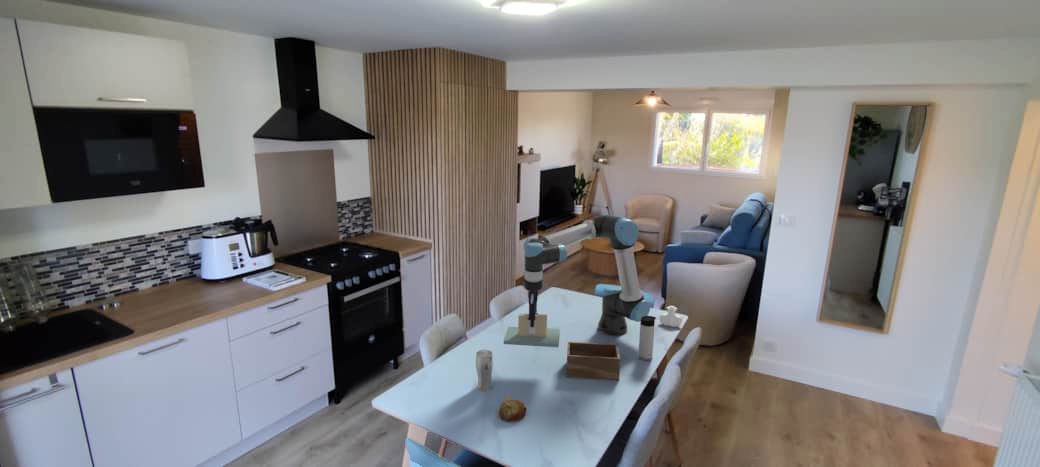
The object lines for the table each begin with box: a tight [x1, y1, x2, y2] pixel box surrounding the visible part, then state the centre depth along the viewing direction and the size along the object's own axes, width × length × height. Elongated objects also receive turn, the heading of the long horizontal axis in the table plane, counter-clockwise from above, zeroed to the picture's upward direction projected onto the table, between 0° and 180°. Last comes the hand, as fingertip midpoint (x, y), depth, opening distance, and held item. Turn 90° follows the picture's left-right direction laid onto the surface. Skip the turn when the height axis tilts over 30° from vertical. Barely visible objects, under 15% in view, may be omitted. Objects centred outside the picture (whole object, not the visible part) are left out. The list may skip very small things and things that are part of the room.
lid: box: [503, 312, 561, 348], centre depth 208 cm, size 15×23×10 cm, turn 83°
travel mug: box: [638, 315, 657, 361], centre depth 222 cm, size 6×7×20 cm
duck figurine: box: [658, 305, 683, 328], centre depth 261 cm, size 12×8×11 cm
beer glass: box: [475, 349, 494, 392], centre depth 196 cm, size 7×7×15 cm
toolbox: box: [566, 341, 621, 382], centre depth 210 cm, size 14×22×10 cm, turn 83°
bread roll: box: [498, 397, 527, 423], centre depth 179 cm, size 10×10×8 cm
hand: (532, 331), depth 208 cm, fingers closed on lid, 3 cm apart
